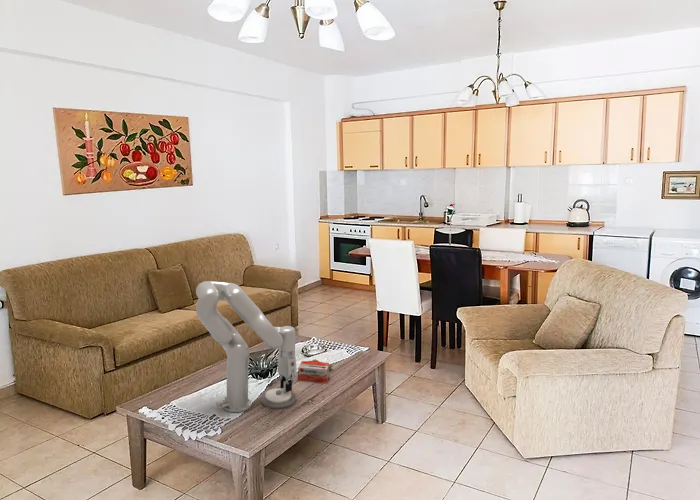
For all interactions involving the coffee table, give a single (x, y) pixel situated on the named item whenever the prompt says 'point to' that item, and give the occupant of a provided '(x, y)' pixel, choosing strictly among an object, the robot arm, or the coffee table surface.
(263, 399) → the dial base
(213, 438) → the coffee table surface
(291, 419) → the coffee table surface
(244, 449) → the coffee table surface
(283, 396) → the dial disc
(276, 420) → the coffee table surface
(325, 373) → the medicine box
